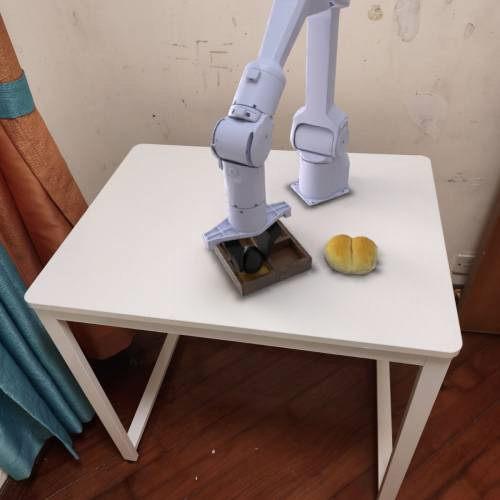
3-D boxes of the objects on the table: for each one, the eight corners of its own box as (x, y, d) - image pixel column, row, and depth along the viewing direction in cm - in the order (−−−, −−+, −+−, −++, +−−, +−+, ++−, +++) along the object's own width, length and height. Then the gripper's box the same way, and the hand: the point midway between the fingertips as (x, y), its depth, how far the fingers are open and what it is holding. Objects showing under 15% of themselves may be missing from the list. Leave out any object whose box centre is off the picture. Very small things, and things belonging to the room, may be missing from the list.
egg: (262, 259, 76) (261, 237, 73) (264, 276, 73) (263, 254, 70) (238, 261, 76) (236, 239, 73) (240, 278, 73) (237, 256, 70)
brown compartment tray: (275, 225, 85) (275, 214, 83) (311, 268, 76) (312, 257, 75) (212, 248, 81) (210, 237, 80) (242, 296, 73) (241, 285, 71)
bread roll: (326, 240, 81) (328, 223, 78) (377, 247, 79) (380, 230, 77) (320, 272, 76) (321, 255, 73) (375, 280, 74) (378, 263, 71)
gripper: (273, 168, 69) (275, 233, 79) (189, 200, 65) (201, 265, 74) (299, 190, 65) (298, 256, 74) (210, 226, 60) (220, 292, 70)
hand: (251, 262), depth 74 cm, fingers closed on egg, 4 cm apart
